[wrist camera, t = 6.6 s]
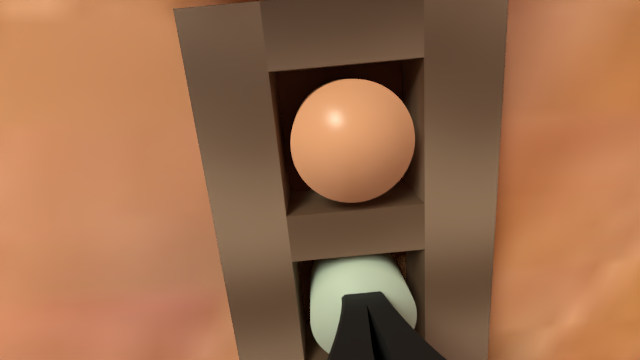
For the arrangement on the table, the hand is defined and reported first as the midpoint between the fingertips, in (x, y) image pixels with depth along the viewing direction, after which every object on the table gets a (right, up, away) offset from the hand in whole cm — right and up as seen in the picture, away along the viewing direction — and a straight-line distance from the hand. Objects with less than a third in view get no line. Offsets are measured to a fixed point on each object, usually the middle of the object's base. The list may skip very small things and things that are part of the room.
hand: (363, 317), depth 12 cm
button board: (0, +1, +3) cm, 3 cm away
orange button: (-1, +6, +1) cm, 6 cm away
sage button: (0, +1, +2) cm, 2 cm away
